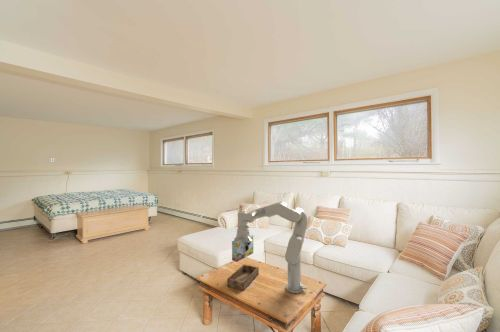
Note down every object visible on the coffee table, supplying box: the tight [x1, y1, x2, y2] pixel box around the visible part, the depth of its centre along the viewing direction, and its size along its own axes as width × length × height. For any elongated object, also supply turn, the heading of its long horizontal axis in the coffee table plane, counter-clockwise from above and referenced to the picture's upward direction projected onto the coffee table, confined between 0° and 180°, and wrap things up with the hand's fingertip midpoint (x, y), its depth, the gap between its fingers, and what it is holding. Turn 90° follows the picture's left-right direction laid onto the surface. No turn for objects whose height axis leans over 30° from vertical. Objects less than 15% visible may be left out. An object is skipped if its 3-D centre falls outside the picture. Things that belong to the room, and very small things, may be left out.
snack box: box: [231, 234, 254, 263], centre depth 186 cm, size 21×6×15 cm, turn 143°
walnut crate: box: [227, 264, 260, 292], centre depth 186 cm, size 14×27×6 cm, turn 154°
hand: (243, 249), depth 186 cm, fingers closed on snack box, 6 cm apart
